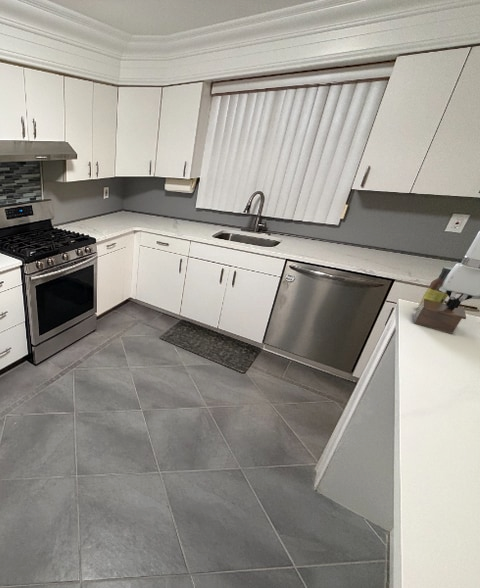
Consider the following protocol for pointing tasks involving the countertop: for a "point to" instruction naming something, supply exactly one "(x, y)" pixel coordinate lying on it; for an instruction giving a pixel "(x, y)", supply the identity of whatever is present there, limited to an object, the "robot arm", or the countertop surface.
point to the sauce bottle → (437, 288)
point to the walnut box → (436, 320)
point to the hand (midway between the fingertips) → (450, 308)
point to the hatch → (443, 309)
